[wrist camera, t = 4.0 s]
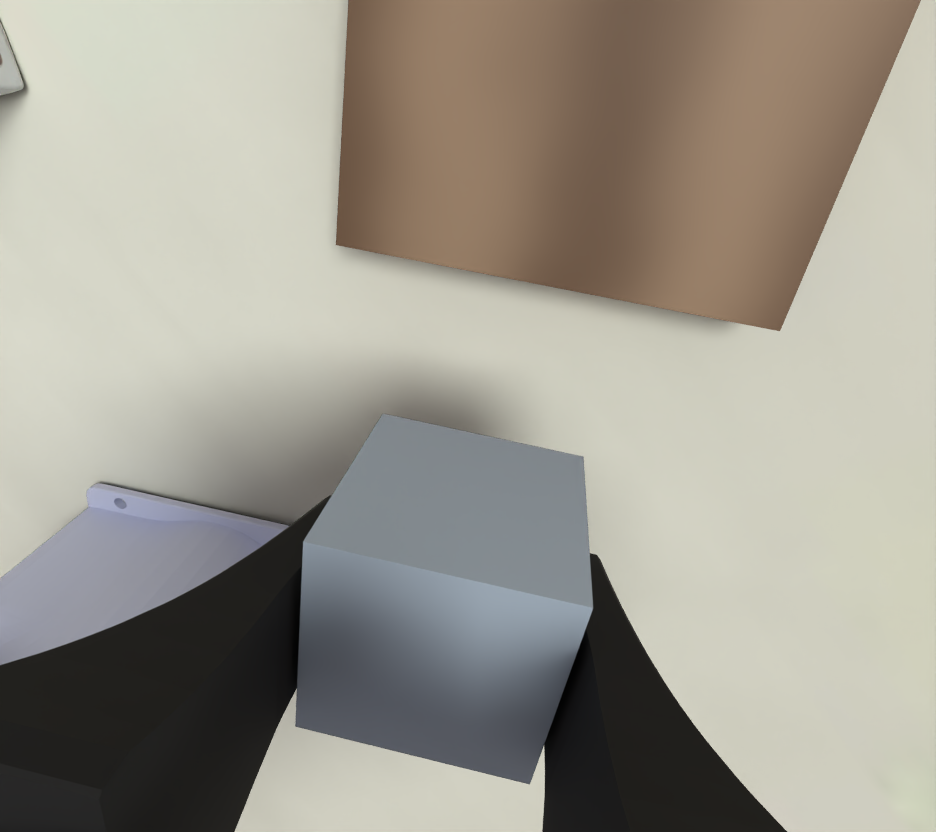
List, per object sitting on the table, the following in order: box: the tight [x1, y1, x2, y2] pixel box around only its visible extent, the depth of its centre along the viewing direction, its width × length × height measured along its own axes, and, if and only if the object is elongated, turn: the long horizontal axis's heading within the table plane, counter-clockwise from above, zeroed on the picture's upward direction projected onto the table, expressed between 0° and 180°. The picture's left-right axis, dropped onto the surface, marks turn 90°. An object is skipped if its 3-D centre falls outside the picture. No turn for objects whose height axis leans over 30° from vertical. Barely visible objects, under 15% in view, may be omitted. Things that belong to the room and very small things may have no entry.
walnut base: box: [336, 0, 921, 331], centre depth 14 cm, size 12×12×3 cm
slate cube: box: [295, 414, 593, 784], centre depth 12 cm, size 4×4×4 cm
